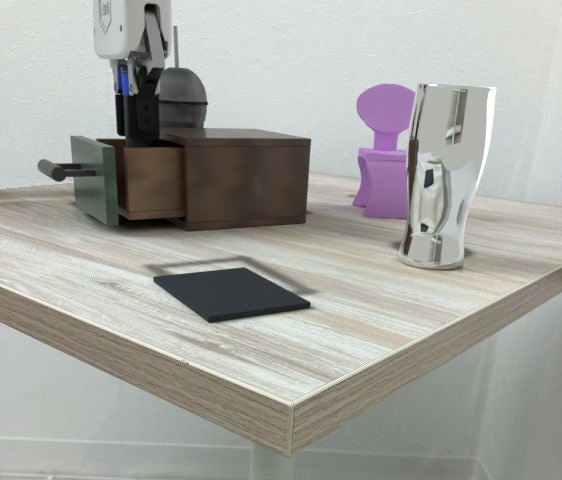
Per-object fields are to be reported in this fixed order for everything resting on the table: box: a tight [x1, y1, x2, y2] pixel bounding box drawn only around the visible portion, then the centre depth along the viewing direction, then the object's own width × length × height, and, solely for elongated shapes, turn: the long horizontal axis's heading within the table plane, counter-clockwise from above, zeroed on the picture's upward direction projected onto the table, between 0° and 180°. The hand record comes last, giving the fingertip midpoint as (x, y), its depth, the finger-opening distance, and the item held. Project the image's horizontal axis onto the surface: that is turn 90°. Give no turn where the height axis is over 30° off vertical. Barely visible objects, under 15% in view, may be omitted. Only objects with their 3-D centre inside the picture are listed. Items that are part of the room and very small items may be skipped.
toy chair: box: [351, 83, 416, 219], centre depth 80 cm, size 8×9×15 cm
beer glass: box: [397, 82, 497, 271], centre depth 57 cm, size 7×7×15 cm
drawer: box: [36, 135, 185, 227], centre depth 68 cm, size 18×11×7 cm, turn 121°
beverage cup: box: [159, 25, 209, 128], centre depth 81 cm, size 7×7×20 cm
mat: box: [152, 266, 312, 323], centre depth 48 cm, size 10×8×1 cm
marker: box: [122, 73, 151, 148], centre depth 67 cm, size 3×3×12 cm
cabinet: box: [159, 127, 312, 232], centre depth 73 cm, size 15×13×9 cm
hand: (138, 136), depth 66 cm, fingers closed on marker, 2 cm apart
